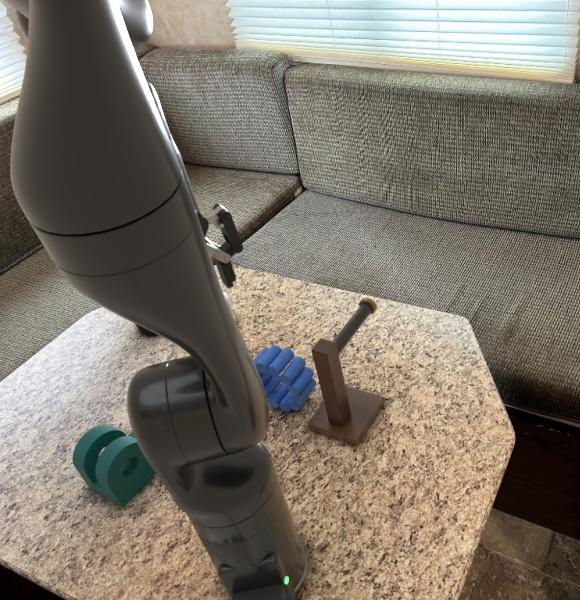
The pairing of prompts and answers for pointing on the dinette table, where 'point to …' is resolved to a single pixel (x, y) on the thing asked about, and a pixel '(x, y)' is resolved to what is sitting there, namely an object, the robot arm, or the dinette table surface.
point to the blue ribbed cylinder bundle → (284, 377)
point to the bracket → (112, 463)
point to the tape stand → (343, 386)
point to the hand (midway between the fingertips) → (196, 299)
